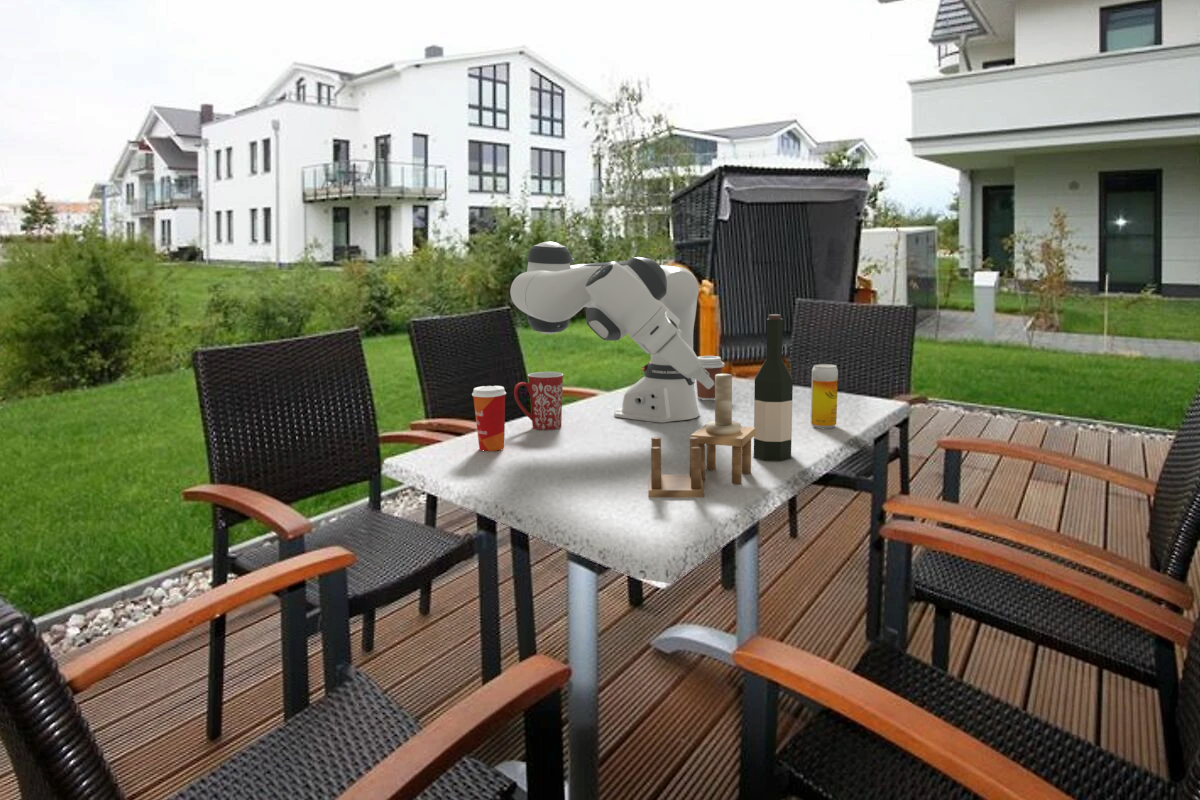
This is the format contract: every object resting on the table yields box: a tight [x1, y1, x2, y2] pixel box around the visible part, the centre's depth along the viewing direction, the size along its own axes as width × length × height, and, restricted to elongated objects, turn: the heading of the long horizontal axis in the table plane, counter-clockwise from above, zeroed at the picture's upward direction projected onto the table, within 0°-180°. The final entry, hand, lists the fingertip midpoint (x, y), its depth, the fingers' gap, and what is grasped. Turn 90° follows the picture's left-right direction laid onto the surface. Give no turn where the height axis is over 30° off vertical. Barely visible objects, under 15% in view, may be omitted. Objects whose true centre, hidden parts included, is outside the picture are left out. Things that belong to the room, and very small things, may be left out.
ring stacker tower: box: [705, 373, 741, 435], centre depth 156 cm, size 7×7×11 cm
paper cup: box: [471, 385, 507, 452], centre depth 182 cm, size 8×8×14 cm
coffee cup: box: [695, 355, 725, 401], centre depth 235 cm, size 9×9×12 cm
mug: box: [513, 371, 564, 431], centre depth 203 cm, size 13×9×14 cm
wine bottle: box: [753, 313, 794, 462], centre depth 169 cm, size 8×8×30 cm
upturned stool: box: [648, 436, 705, 498], centre depth 150 cm, size 10×10×9 cm
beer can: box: [810, 363, 839, 429], centre depth 196 cm, size 6×6×15 cm
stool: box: [690, 424, 756, 485], centre depth 158 cm, size 10×10×9 cm
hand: (709, 381), depth 155 cm, fingers open, 8 cm apart
